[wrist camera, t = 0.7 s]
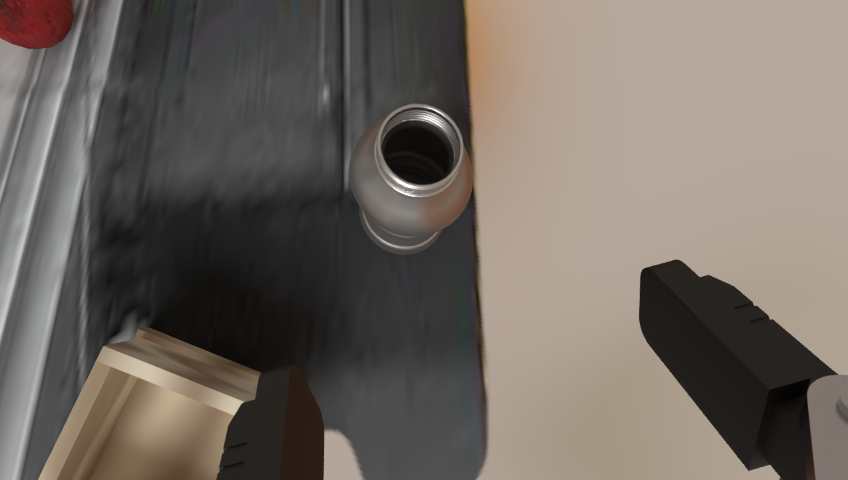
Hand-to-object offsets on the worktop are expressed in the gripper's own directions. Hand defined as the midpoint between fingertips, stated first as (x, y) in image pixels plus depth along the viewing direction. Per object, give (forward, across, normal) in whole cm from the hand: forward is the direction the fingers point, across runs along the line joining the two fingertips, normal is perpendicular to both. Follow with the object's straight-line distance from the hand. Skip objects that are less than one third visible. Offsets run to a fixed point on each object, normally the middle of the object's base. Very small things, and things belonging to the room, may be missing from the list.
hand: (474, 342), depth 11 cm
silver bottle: (+27, +1, +11) cm, 29 cm away
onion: (+38, +24, -7) cm, 46 cm away
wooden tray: (+18, +21, +20) cm, 34 cm away
